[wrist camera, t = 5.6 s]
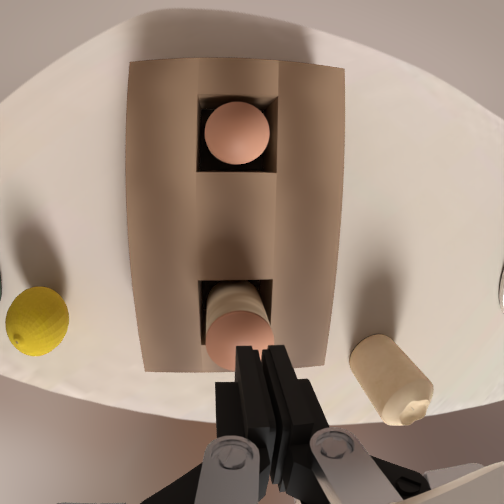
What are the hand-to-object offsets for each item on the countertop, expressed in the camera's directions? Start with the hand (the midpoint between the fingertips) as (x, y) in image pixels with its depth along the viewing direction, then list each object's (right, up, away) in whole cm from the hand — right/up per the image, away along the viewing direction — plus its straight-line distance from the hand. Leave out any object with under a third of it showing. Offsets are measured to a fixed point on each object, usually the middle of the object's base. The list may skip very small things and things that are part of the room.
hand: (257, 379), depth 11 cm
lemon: (-19, 0, +16) cm, 25 cm away
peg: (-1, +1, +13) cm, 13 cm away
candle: (+13, -7, +21) cm, 26 cm away
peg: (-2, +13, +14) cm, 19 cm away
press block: (-2, +8, +15) cm, 17 cm away
